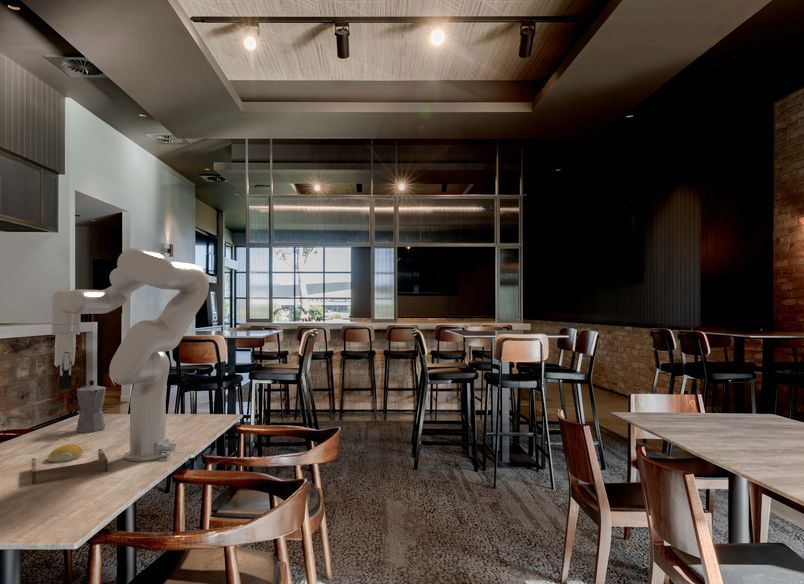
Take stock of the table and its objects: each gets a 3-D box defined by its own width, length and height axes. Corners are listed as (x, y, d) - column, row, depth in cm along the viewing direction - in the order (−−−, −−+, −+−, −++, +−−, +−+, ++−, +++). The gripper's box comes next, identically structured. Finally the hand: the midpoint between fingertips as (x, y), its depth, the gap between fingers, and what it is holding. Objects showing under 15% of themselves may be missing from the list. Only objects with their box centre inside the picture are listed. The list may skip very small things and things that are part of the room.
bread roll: (84, 453, 157) (84, 440, 157) (78, 461, 149) (78, 447, 149) (52, 456, 154) (53, 442, 154) (44, 464, 146) (44, 450, 146)
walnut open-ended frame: (31, 469, 140) (31, 458, 141) (101, 458, 150) (101, 448, 150) (31, 484, 128) (31, 472, 129) (107, 471, 138) (107, 460, 138)
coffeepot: (110, 430, 185) (111, 380, 186) (80, 435, 179) (81, 383, 179) (99, 424, 196) (99, 376, 197) (70, 428, 190) (71, 379, 191)
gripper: (50, 329, 166) (49, 386, 165) (52, 330, 153) (51, 392, 153) (78, 328, 170) (77, 384, 169) (82, 330, 158) (81, 390, 157)
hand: (65, 388), depth 161 cm, fingers closed
